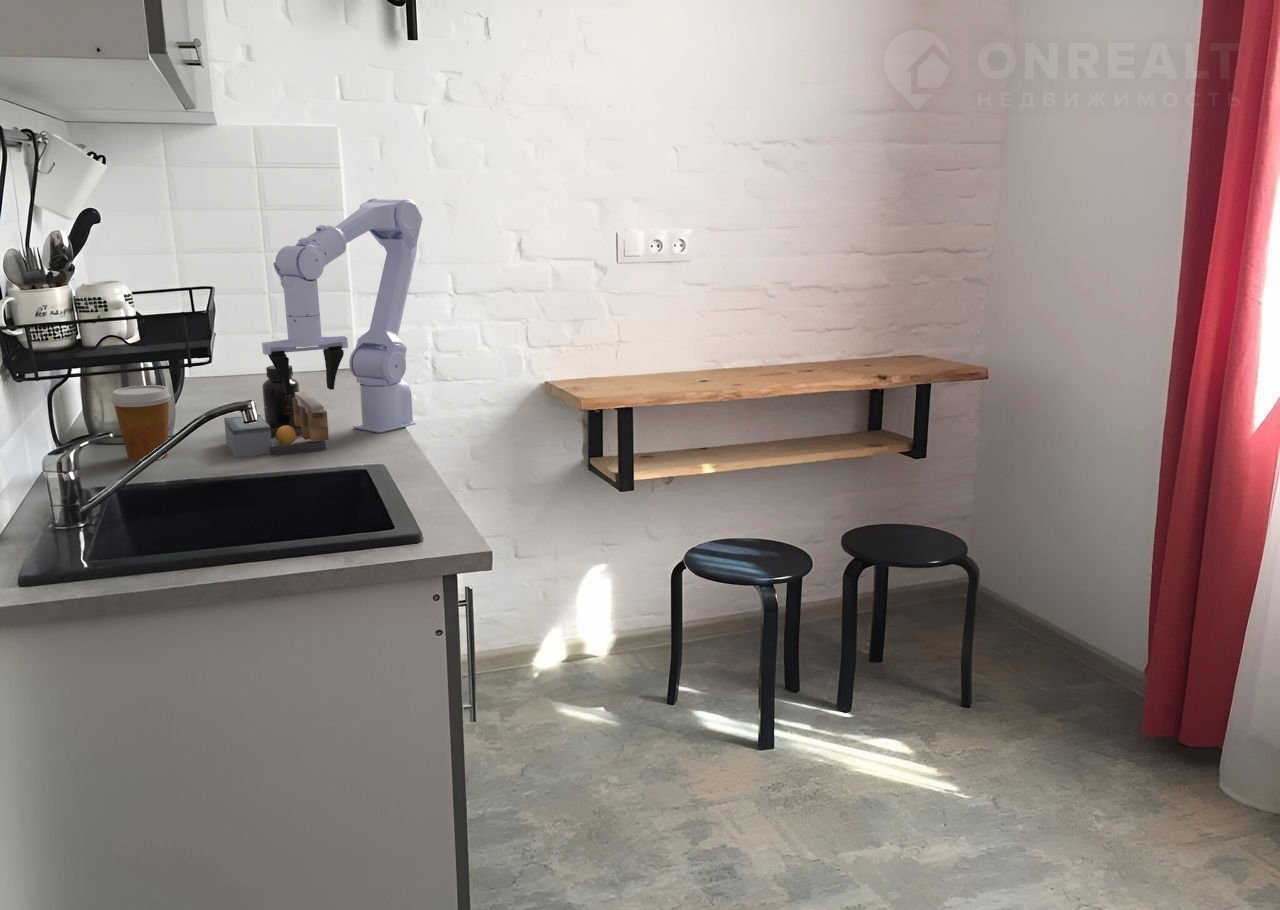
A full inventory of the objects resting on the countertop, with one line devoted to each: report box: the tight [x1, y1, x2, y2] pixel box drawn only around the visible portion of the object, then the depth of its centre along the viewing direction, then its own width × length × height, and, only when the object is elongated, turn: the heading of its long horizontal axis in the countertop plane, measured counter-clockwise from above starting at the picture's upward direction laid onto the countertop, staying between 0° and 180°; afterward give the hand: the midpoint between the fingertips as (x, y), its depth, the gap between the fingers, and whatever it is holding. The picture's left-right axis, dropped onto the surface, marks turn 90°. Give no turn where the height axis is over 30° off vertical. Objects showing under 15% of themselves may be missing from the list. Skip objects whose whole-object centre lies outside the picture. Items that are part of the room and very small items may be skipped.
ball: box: [276, 426, 297, 445], centre depth 196 cm, size 4×4×4 cm
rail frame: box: [269, 426, 327, 457], centre depth 197 cm, size 10×15×2 cm, turn 28°
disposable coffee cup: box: [110, 384, 172, 463], centre depth 186 cm, size 10×10×12 cm
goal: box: [223, 414, 273, 458], centre depth 193 cm, size 6×11×5 cm, turn 28°
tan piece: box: [293, 391, 330, 442], centre depth 198 cm, size 3×16×7 cm, turn 28°
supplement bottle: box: [261, 364, 300, 429], centre depth 209 cm, size 7×7×12 cm
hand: (309, 390), depth 193 cm, fingers open, 7 cm apart
